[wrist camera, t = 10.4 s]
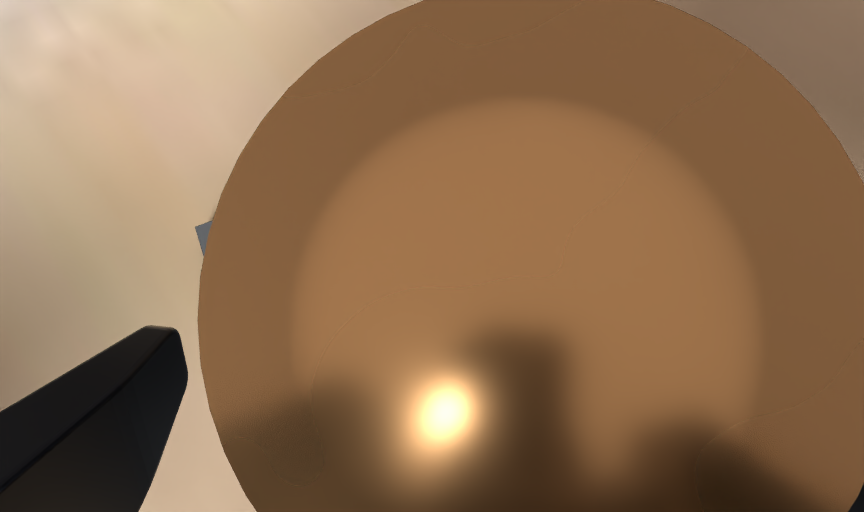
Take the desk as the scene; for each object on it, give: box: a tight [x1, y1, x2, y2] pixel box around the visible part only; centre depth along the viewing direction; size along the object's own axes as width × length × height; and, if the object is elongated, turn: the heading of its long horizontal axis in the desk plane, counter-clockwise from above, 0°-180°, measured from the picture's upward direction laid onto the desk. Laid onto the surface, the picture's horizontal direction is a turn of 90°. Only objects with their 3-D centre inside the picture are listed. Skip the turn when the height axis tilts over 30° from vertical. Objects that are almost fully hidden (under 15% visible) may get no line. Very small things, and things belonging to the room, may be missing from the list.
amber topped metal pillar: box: [198, 0, 864, 512], centre depth 11 cm, size 4×4×13 cm
